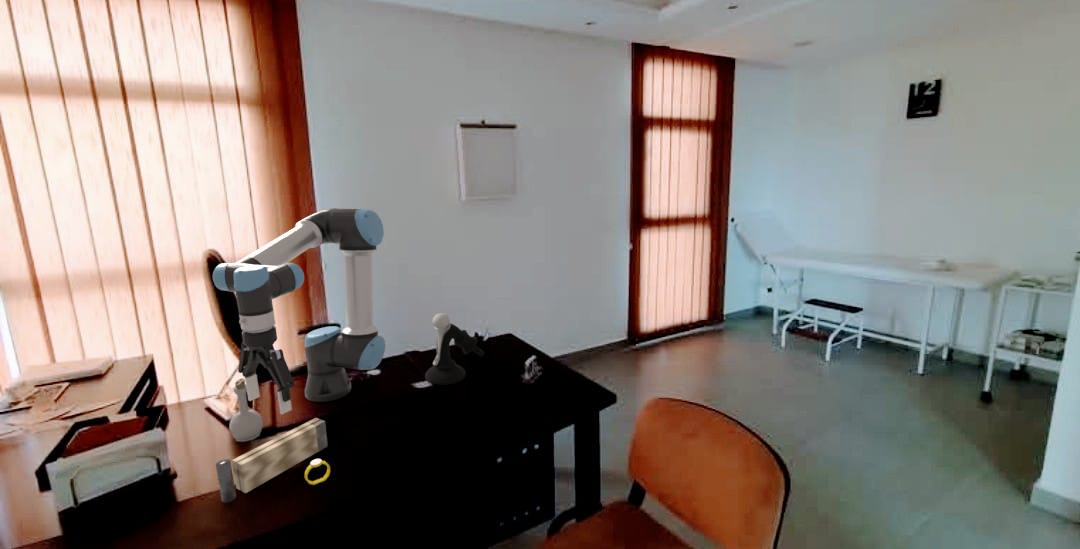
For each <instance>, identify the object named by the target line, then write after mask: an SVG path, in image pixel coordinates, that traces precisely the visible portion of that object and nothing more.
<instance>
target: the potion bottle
mask: <svg viewBox="0 0 1080 549" xmlns="http://www.w3.org/2000/svg"><path fill="white" fill-rule="evenodd" d="M234 385H235V386H234V387H233V388H232V390H233V392H234V394H235V395H236V396H237V402H238V407H239V412H236V413H235V414H234V415H233V416H232V417H231V420H230V421H229V427H228V428H229V431H230V433H231V436H232V438H233V439H235V442H241V443H246V442H249V441H253V440H255V439H256V438H258V437H260V435H261V432H262V429H263V423H264V420H263V417H262V415H261V414H260V413H259V412H257V411H256V410H254V409H249V406H248V398H247V388H246V382H245V378H244V377H242V378H239V379H237V380H235V383H234Z"/></svg>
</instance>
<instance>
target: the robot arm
mask: <svg viewBox="0 0 1080 549" xmlns="http://www.w3.org/2000/svg"><path fill="white" fill-rule="evenodd" d="M384 232H385V231H384V225H383V222H382V220H381V217H380V216H379V214H378V213H376V211H374V210H372V209H365V208H331V207H330V208H326V209H323V210H319V211H317V212H315V213H313V214H310V215H308V216H306V217H304V218H302V219H301V220H299V221H298V222H296V223H295V225H294V227H293V228H292V229H290V230H289V231H287V232H285V233H283V234H282V235H280V236H278V237H277V238H275V239H274V240H272V241H270V242H268V243H266V245H263V246H262V247H260V248H257V250H255V251H253V252H251V253H250V254H248V255H247V256H245V257H243V258H241V259H240V260H238V261H236V262H224V263H223V262H222V263H219V264H218V265H217V266H216V267H215V268H214V270H213V273H212V280H213V283H214V286H215V287H216V288H217V289H218V290H220V291H227V292H231V293H234V292H235V298H236V305H237V308H238V309H237V311H238V317H239V321H238V323H239V325H240V328H241V330H242V331H241V337H242V342H241V343H240V347H241V348H240V349H241V351H240V355H239V356H240V357H239V363H238V368H237V372H238V374H242V376H243V378H244V379H245V384H246V388H247V392H246V396H247V401H249V402H252V401H254V400H256V399H258V398H260V397H261V395H260V389H259V382H258V375H257V374H256V373H257V369H258V368H257V367H258V366H259V364H260V365H261V366H263V368H264V369H267V371H268V373H269V374H270V376H271V377H272V380H273V381H274V383H275V385H276V386H277V388H278V389H277V390H276V393H277V400H278V406H279V407H278V408H279V414H280V415H283V414H286V413H287V412H290V411H292V410H293V407H292V401H291V400H292V399H291V398H292V397H291V391H290V389H291V388H293V387H295V386H296V383H295V380H294V378H293V376H292V373H291V371H290V369H289V366H288V364H287V361H286V359H285V356H284V355H285V354H284V351H283V349H278V350H275V347H274V344H275V342H276V341H277V340H278V335H277V333H278V332H277V327H276V326H275V325H276V320H275V319H276V318H275V312H274V305H273V299H276V298H278V297H280V296H283V295H286V294H289V293H292V292H294V291H295V290H297V289H299V288H301V287H302V286H303V284H304V282H305V273H304V270H303V268H301V266H299V265H298V264H296V263H294V262H291V261H292V260H294V259H295V258H297V257H298V256H300V255H301V254H303V253H304V252H306V251H307V250H309V249H313V248H314V249H315V248H317V247H319V246H320V245H321V246H322V245H324V244H338V246H339V248H338V249H339V251H340V253H342V254H343V255H344V285H345V286H344V287H345V288H344V289H345V290H344V291H345V323H346V324H345V327H343V329H342V330H341V327H340V326H337V325H335V326H325V327H324V326H323V327H321V328H317V329H313V330H312V331H310V332H308V333H307V334H306V335H304V336H305V337H304V349H305V357H306V358H305V359H306V365H307V374H308V375H307V378H306V379H307V380H306V383H305V387H304V397H305V398H306V399H307V400H308V401H311V402H316V403H323V402H331V401H335V400H338V399H341V398H343V397H345V396H347V395H348V394H349V393H350V392H351V390H352V383H351V380H350V378H349V376H348V374H347V372H346V369H355V370H361V371H364V370H365V371H366V370H374V369H376V368H377V367H378V366H379V365H380V363H381V362H382V360H383V357H384V355H385V350H386V340H385V338H384V336H381V335H379V329H378V327H377V326H376V325H374V303H373V302H374V294H373V292H374V291H373V254H375V252H376V251H377V246H378V245H380V244H381V243H382V241H383V238H384V235H385V234H384Z"/></svg>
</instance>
